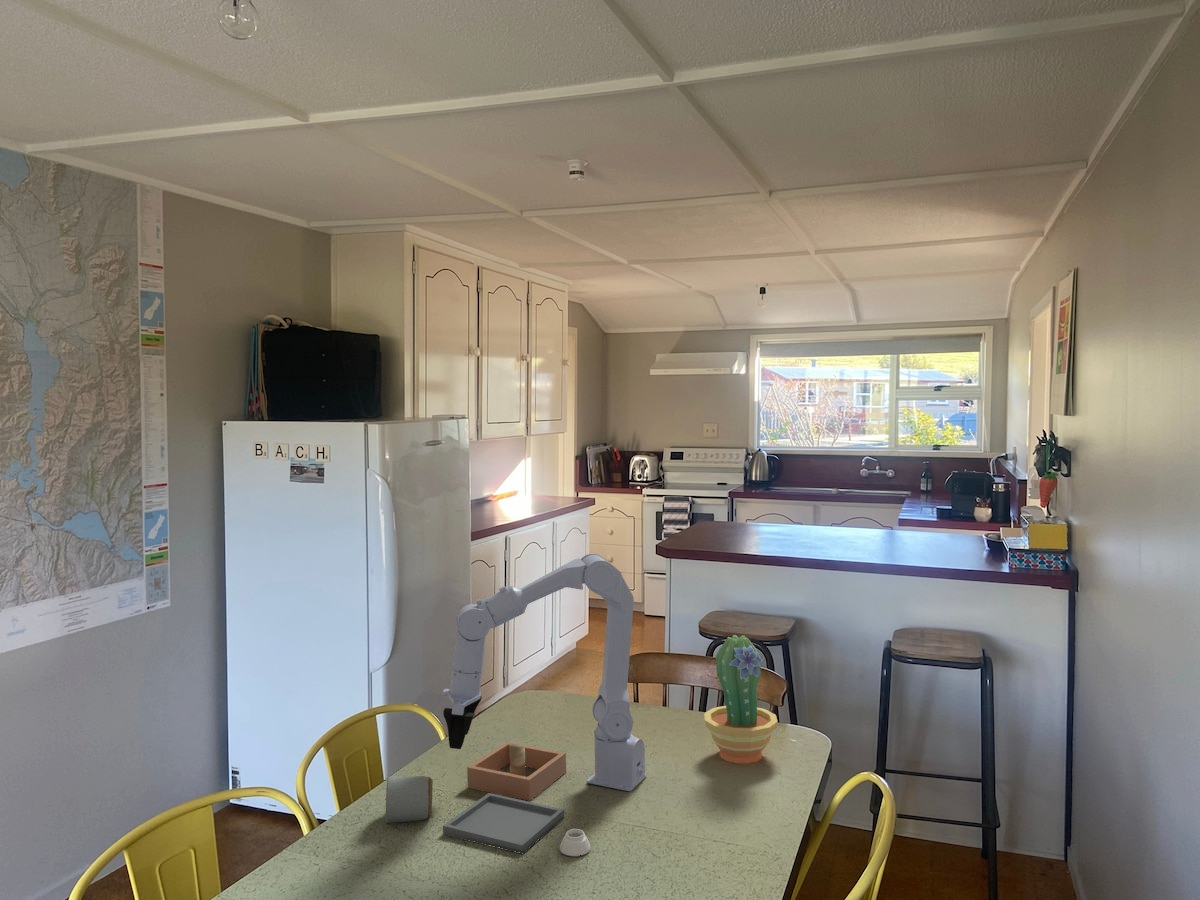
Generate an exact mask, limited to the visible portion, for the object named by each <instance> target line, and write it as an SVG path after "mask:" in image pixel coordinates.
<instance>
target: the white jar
mask: <svg viewBox="0 0 1200 900" xmlns="http://www.w3.org/2000/svg"><path fill="white" fill-rule="evenodd" d="M559 851H560V853H562V854H563V855H565V856H569V857H581V856H584V855H587V854H588V853H589V852H590V851H591V842H590V841H589V839H588V837H587V835H586V834H585V832H584V830H582V829H579V828H570V829H569V830H567V831H566V832H565V835H564V836H563V838H562V840H561V842H560V844H559ZM580 855H581V856H580Z"/></svg>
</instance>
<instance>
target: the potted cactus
mask: <svg viewBox="0 0 1200 900" xmlns="http://www.w3.org/2000/svg"><path fill="white" fill-rule="evenodd" d="M762 662H764V661H763V659H762V658H761V656H760V653H759V652H758V650H757V648H756V647H755V645H754V644H753V643H752V642H751V640H750V639H749V638H748V637H747V636H746V635H745V634H744V635H741V636H737V635H736V634H733V635H732V637H729V636H728V637H727V638H726V639H725V640H724V642H723V644H722V645H721V647H720V648H719V650H718V652H717V653H716V655H715V664H716V676H717V678H718V680H719V683H720V686H721V688H722V692H723V696H724V702H725V705H724V706H723V705H722V706H717V707H716V706H715V707H713V708H710V709H709V710H708V711H705V712H704V713H703V714H704V723H705V727H706V728H707V729H709V731H710V734H711V737H712V740H713V742H714V744H715V745H716V746H717V748H718V749H719V757H720V758H721V759H723V760H725V761H727V762H730V763H734V764H752V763H757V762H759V761H760V760H761V759H762V758H763V754H762V752H763V750H764V749H765V748H766V747H767V746H768V744H769V742H770V740H771V737H772V735H773V732H774V730H776V729H777V728H778V727H777V726H778V719H777V715H776V714H775V713H773V712H771V711H770V710H767V709H766V708H762V707H758V696H757V695H758V691H757V689H758V685H759V682H760V680H761V667H762V666H761V665H762Z"/></svg>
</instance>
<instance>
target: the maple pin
mask: <svg viewBox="0 0 1200 900" xmlns="http://www.w3.org/2000/svg"><path fill="white" fill-rule="evenodd" d="M510 743H511V744H510V745H509V746H510V764H509V773H510V774H515V775H520V776H525V777H526V767H525V746H526V744H525V743H524V742H523V741H522V742H521V741H515V742H510Z"/></svg>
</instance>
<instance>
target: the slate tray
mask: <svg viewBox="0 0 1200 900" xmlns="http://www.w3.org/2000/svg"><path fill="white" fill-rule="evenodd" d="M564 819H565V809H563V808H560V807H554V806H549V805H546V804H542V803H536V802H533V801H526V800H522V799H517V798H512V797H508V796H503V795H499V794H494V793H489V792H487V794H485V795H484V796H482V797H481V798H480V799H478V800H477V801H476V802H474V803H473V804H470V806H468V807H467V808H466V809H465V810H462V811H461V812H460V813H459V814H457V815H456V816H455V817H453V818H452V819H450V820H449V821H447V822H446V823H445V824H443V825H442V835H444V834H445V835H444V836H448V835H449V836H448V837H452V836H454V837H453V838H456V837H457V838H456V839H460V838H462V839H461V840H464V839H466V840H465V841H468V840H470V841H469V842H471V841H475V842H478V843H477V844H479V843H483V844H486V845H485V846H487V845H491V846H495V847H500V848H503V849H507V850H511V851H516V852H520V853H524V852H525V851H526V850H527V849H528V848H529V847H530V846H532V845H533V844H534V843H535V842H536V841H537V840H538V839H540V838H541V837H542V836H543V835H544V834H545V835H547V834H548V833H549V832H550V831H551V830H552V829H553V828H554V827H556V826H555V825H556V824H557V823H558V824H559V823H560V822H561V821H562V820H564ZM558 824H557V825H558ZM550 829H551V830H550ZM549 830H550V831H549ZM548 831H549V832H548ZM547 832H548V833H547ZM545 835H544V836H545ZM544 836H543V837H544ZM543 837H542V838H543ZM542 838H541V839H542ZM541 839H540V840H541ZM475 842H474V843H475ZM537 842H538V841H537ZM537 842H536V843H537ZM536 843H535V844H536ZM483 844H482V845H483ZM535 844H534V845H535ZM534 845H533V846H534ZM491 846H490V847H491ZM533 846H532V847H533ZM495 847H494V848H495ZM503 849H502V850H503ZM529 849H530V848H529ZM529 849H528V850H529ZM507 850H506V851H507ZM528 850H527V851H528ZM511 851H510V852H511ZM527 851H526V852H527ZM526 852H525V853H526ZM525 853H524V854H525Z"/></svg>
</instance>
